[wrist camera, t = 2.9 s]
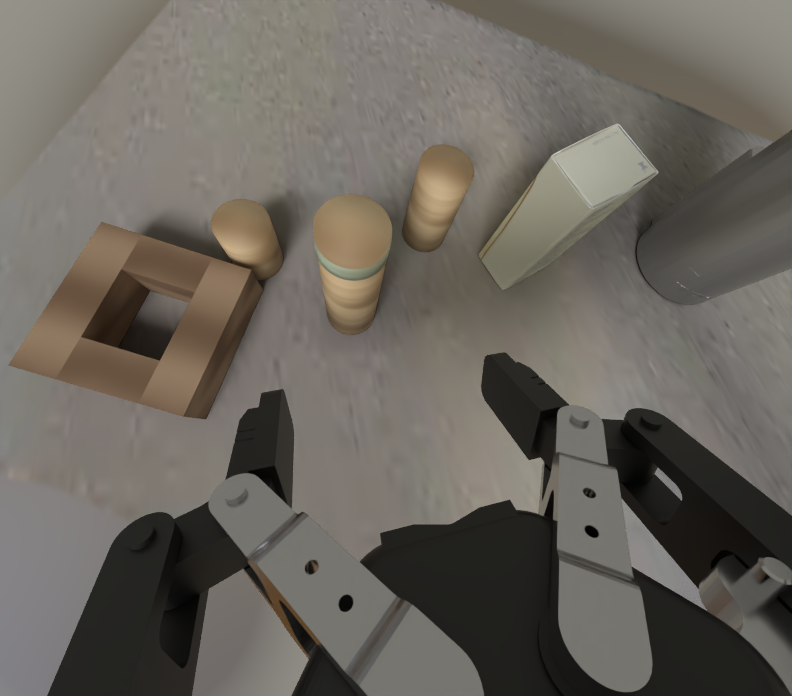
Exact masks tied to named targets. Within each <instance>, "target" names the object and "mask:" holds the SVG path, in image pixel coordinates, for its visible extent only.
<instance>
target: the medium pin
mask: <svg viewBox="0 0 792 696" xmlns="http://www.w3.org/2000/svg"><path fill="white" fill-rule="evenodd" d="M473 177H474V167H473V164H472V161H471V160H470V158H469V157H468V156H467V155H466V154H465V153H464V152H463V151H461V150H460V149H458V148H456V147H454V146H450V145H435V146H432V147H430V148H428V149H427V150H426V151H425V152H424V153H423V154H422V156H421V159H420V163H419V167H418V170H417V174H416V178H415V182H414V186H413V190H412V193H411V197H410V201H409V205H408V209H407V213H406V216H405V220H404V224H403V228H402V234H403V238H404V240H405V242H406V243H407V244H408V245H409V246H410V247H411V248H413V249H415V250H417V251H421V252H430V251H433V250H435V249H437V248H438V247H439V246H440V245H441V243H442V242H443V239H444V237H445V235H446V233H447V231H448V229H449V227H450V225H451V223H452V221H453V219H454V217H455V215H456V213H457V211H458V208H459V206H460V204H461V202H462V200H463V198H464V196H465V194H466V192H467V190H468V188H469V186H470V184H471V182H472V179H473Z"/></svg>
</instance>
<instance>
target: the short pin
mask: <svg viewBox="0 0 792 696" xmlns="http://www.w3.org/2000/svg"><path fill="white" fill-rule="evenodd" d="M211 228H212V231H213V233H214V235H215V237H216V238H217V240H218V241H219V243H220V244H221V246H222V247H223V249H224V250H225V252H226V253H227V255H228V257H229V258H230V260H231V261H232V263H233V264H234V265H237V266H240V267H243V268H247V269H250V270H252V272H253V273H254V275H255V277H256V279H257V280H265V279H268V278H271V277H272V276H274V275H275V274H277V273H278V271H279V270H280V269H281V267H282V264H283V254H282V251H281V248H280V245H279V242H278V239H277V237H276V234H275V231H274V228H273V225H272V222H271V220H270V217H269V214H268V213H267V211H266V210H265V208H263V207H262V206H261V205H260V204H258V203H256V202H254V201H251V200H246V199H236V200H232V201H229V202H226V203H224V204H223V205H221V206H220V207H219V208H218V209H217V210H216V211H215V213H214V214H213V217H212V220H211Z"/></svg>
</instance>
